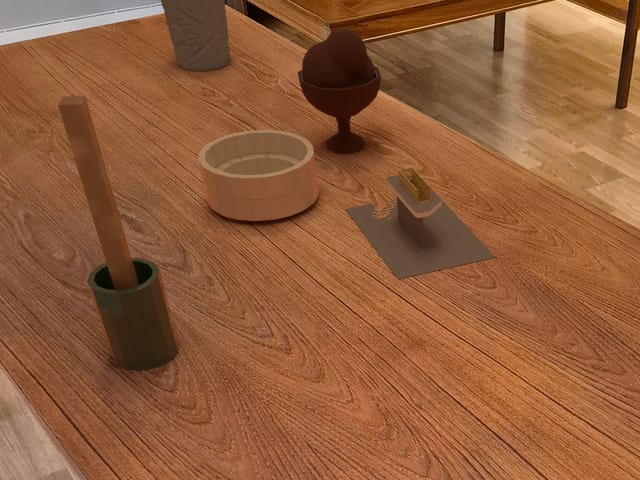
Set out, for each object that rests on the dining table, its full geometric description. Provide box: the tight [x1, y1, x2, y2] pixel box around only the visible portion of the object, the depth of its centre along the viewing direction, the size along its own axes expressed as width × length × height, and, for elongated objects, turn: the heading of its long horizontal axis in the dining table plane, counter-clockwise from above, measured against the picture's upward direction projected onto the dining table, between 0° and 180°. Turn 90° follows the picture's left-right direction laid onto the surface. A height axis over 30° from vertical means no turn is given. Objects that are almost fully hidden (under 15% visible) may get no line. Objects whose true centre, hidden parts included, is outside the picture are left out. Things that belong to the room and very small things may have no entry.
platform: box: [345, 166, 496, 280], centre depth 103 cm, size 12×18×7 cm, turn 25°
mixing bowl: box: [198, 129, 320, 222], centre depth 109 cm, size 14×14×6 cm
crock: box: [86, 257, 180, 371], centre depth 84 cm, size 6×6×9 cm
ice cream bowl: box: [297, 29, 382, 154], centre depth 118 cm, size 11×11×15 cm
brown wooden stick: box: [57, 95, 139, 290], centre depth 78 cm, size 2×3×24 cm, turn 9°
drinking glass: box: [160, 0, 232, 72], centre depth 142 cm, size 10×10×12 cm
